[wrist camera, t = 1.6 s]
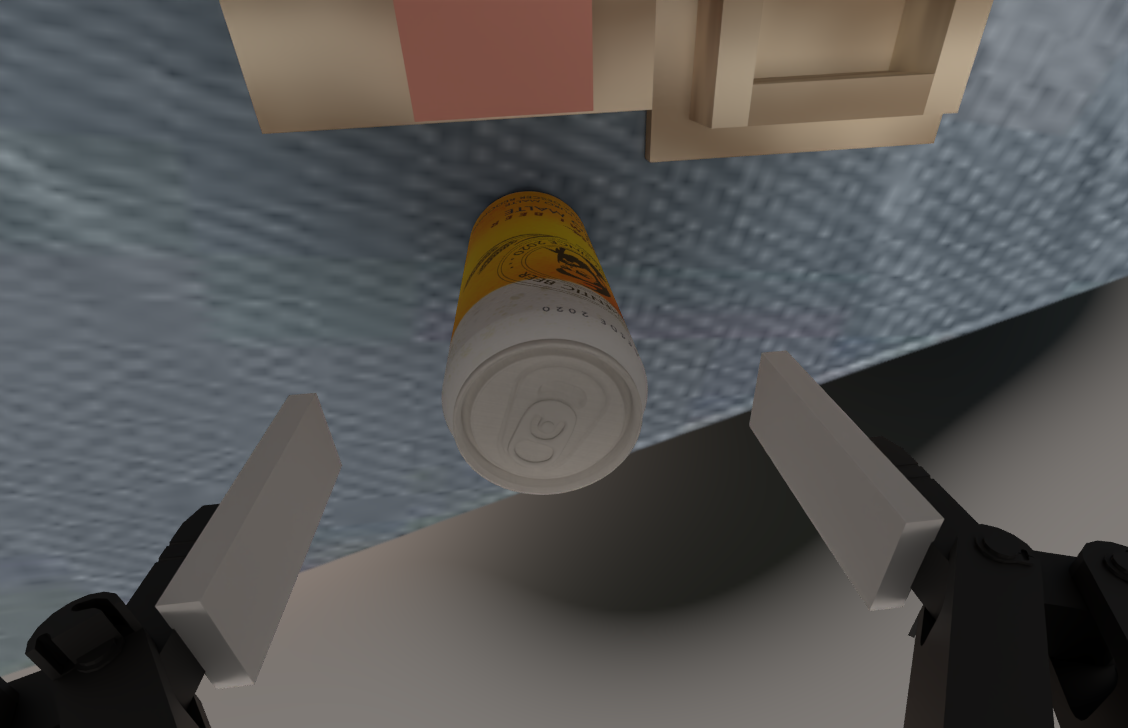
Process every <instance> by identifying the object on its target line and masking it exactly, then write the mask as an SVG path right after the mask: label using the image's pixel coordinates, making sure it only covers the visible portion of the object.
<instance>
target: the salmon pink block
mask: <svg viewBox="0 0 1128 728" xmlns="http://www.w3.org/2000/svg"><path fill="white" fill-rule="evenodd" d="M393 4H394V10H395V15H396V21H397V26H398V32H399V37H400V43H401V48H402V54H403V59H404V65H405V71H406V76H407V82H408V87H409V93H410V98H411V104H412V109H413V115H414V120H415V122H422V121H438V120H454V119H470V118H486V117H503V116H519V115H535V114H551V113H567V112H583V111H593V43H592V0H393Z"/></svg>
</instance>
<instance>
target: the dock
mask: <svg viewBox="0 0 1128 728" xmlns="http://www.w3.org/2000/svg"><path fill="white" fill-rule="evenodd" d="M219 2H220V5H221V8H222V11H223V14H224V17H225V20H226V23H227V26H228V29H229V32H230V36H231V39H232V42H233V45H234V48H235V51H236V54H237V57H238V60H239V63H240V66H241V69H242V72H243V76H244V79H245V82H246V85H247V88H248V91H249V94H250V97H251V100H252V103H253V106H254V109H255V112H256V116H257V119H258V122H259V125H260V128H261V131H262V134H268V133H284V132H300V131H316V130H333V129H349V128H365V127H381V126H397V125H413V124H429V123H445V122H461V121H477V120H493V119H509V118H526V117H542V116H558V115H574V114H590V113H606V112H622V111H638V110H647V119H646V148H645V159H646V160H648V161H649V162H664V161H679V160H693V159H708V158H723V157H738V156H752V155H767V154H782V153H796V152H811V151H826V150H841V149H855V148H870V147H885V146H899V145H914V144H929V143H934V140H935V137H936V134H937V131H938V127H939V124H940V121H941V118H942V114H946V113H957V112H958V109H959V106H960V103H961V100H962V97H963V94H964V91H965V87H966V84H967V81H968V78H969V75H970V72H971V69H972V66H973V62H974V59H975V56H976V53H977V50H978V47H979V44H980V41H981V37H982V34H983V31H984V28H985V25H986V22H987V19H988V16H989V12H990V9H991V6H992V3H993V0H592V43H593V111H583V112H567V113H551V114H535V115H519V116H503V117H486V118H470V119H454V120H438V121H422V122H415V120H414V115H413V109H412V104H411V98H410V93H409V87H408V82H407V76H406V71H405V65H404V59H403V54H402V48H401V43H400V37H399V32H398V26H397V21H396V15H395V10H394V4H393V0H219Z"/></svg>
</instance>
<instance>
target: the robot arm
mask: <svg viewBox="0 0 1128 728" xmlns="http://www.w3.org/2000/svg"><path fill="white" fill-rule="evenodd" d="M749 426H750V428H751V429H752V431H753V432H754V434H755V435H756V437H757V438H758V440H759V441H760V443H761V444H762V446H763V448H764V449H765V451H766V452H767V454H768V455H769V457H770V458H771V460H772V461H773V463H774V464H775V466H776V468H777V469H778V470H779V472H780V474H781V475H782V477H783V478H784V480H785V481H786V483H787V484H788V486H789V487H790V489H791V491H792V492H793V494H794V495H795V497H796V498H797V500H798V501H799V503H800V504H801V506H802V508H803V509H804V511H805V512H806V514H807V515H808V517H809V518H810V520H811V521H812V523H813V524H814V526H815V528H816V529H817V531H818V532H819V534H820V535H821V537H822V538H823V540H824V541H825V543H826V544H827V546H828V547H829V549H830V550H831V552H832V554H833V555H834V557H835V558H836V560H837V561H838V563H839V564H840V566H841V568H842V569H843V571H844V572H845V573H846V575H847V577H848V578H849V580H850V581H851V583H852V584H853V586H854V588H855V589H856V590H857V592H858V594H859V595H860V597H861V598H862V600H863V601H864V603H865V604H866V606H867V607H868V609H869V610H870V611H872V610H880V609H888V608H897V607H903V606H904V604H905V601H906V599H907V597H908V595H909V593H910V591H911V589H912V590H913V591H914V593H915V594H916V595H917V597H918V598H919V599H920V601H921V602H922V603H923V606H922V608H921V610H920V612H919V614H918V616H917V618H916V620H915V623H914V624H913V626H912V628H911V630H910V632H909V634H908V635H909V636H911V637H915V635H916V638H915V645H914V652H913V660H912V668H911V675H910V683H909V690H908V699H907V705H906V713H905V721H904V728H1054V718H1053V709H1054V711H1055V714H1056V717H1057V720H1058V722H1059V725H1060V728H1128V547H1126V546H1123V545H1119V544H1116V543H1113V542H1105V541H1094V542H1090V543H1086V544H1085V546H1084V547H1083V549H1082V550H1081V552H1080V553H1079V555H1078V556H1077V557H1073V556H1066V555H1059V554H1053V553H1046V552H1040V551H1034V550H1032V549H1031V548H1030V547H1029V546H1028V545H1027V544H1026V543H1025V542H1023V541H1022V540H1020V539H1019V538H1017V537H1016V536H1015V535H1012V534H1011V533H1009V532H1006V531H1004V530H1002V529H999V528H996V527H992V526H988V525H984V524H978V523H977V522H976V521H975V520H974V519H973V518H972V517H971V516H970V515H969V514H968V513H967V512H966V511H965V510H964V509H963V508H962V507H961V506H960V505H959V504H958V503H957V502H956V501H955V500H954V499H953V498H952V497H951V496H950V495H949V494H948V493H947V492H946V491H945V490H944V489H943V488H942V487H941V486H940V485H939V484H938V483H937V482H936V481H935V480H934V479H931V478H930V475H929V474H928V473H927V472H926V471H925V470H924V469H923V468H922V467H921V466H918V463H917V462H916V461H915V460H914V459H913V458H912V457H911V456H910V455H909V454H908V453H907V452H906V451H905V450H904V449H903V448H901V447H900V446H898V445H896V444H895V443H893V442H891V441H890V440H888V439H886V438H885V437H883V436H878V437H867V436H866V435H865V434H864V433H863V432H862V431H861V430H860V428H859V427H858V426H857V425H856V424H855V423H854V422H853V421H852V420H851V419H850V418H849V417H848V416H847V415H846V414H845V412H844V411H843V410H842V409H841V408H840V407H839V406H838V405H837V404H836V403H835V402H834V401H833V400H832V399H831V398H830V397H829V396H828V394H827V393H826V392H825V391H824V390H823V389H822V388H821V387H820V386H819V385H818V384H817V383H816V382H815V381H814V379H813V378H812V377H811V376H810V375H809V374H808V373H807V372H806V371H805V370H804V369H803V368H802V367H801V366H800V365H799V363H798V362H797V361H796V360H795V359H794V358H793V357H792V356H791V355H790V354H789V353H788V352H787V351H777V352H766V353H762V354H761V360H760V366H759V372H758V378H757V383H756V389H755V395H754V401H753V407H752V413H751V419H750V424H749ZM341 466H342V464H341V462H340V459H339V456H338V453H337V450H336V447H335V445H334V442H333V439H332V436H331V433H330V430H329V428H328V425H327V422H326V419H325V416H324V413H323V411H322V408H321V405H320V402H319V399H318V396H317V394H316V393H310V394H298V395H289V396H288V398H287V399H286V401H285V402H284V404H283V405H282V407H281V409H280V410H279V412H278V413H277V415H276V416H275V418H274V420H273V421H272V423H271V424H270V426H269V427H268V429H267V431H266V432H265V434H264V435H263V437H262V438H261V440H260V442H259V443H258V445H257V446H256V448H255V449H254V451H253V453H252V454H251V456H250V457H249V459H248V460H247V462H246V464H245V465H244V467H243V468H242V470H241V471H240V473H239V475H238V476H237V478H236V479H235V481H234V482H233V484H232V486H231V487H230V489H229V490H228V492H227V493H226V495H225V497H224V498H223V500H222V501H221V503H220V504H214V505H204V506H202V507H201V508H200V509H199V510H197V511H196V512H195V513H194V514H193V515H192V516H191V517H189V518H188V519H187V520H186V521H185V522H184V523H183V524H182V525H181V526H180V528H179V529H178V531H177V532H176V534H175V535H174V537H173V538H172V540H171V541H170V542H169V543H170V545H169V546H167V547H166V548H165V550H164V551H163V553H162V554H161V555H160V557H159V561H158V562H156V563H155V564H154V566H153V567H152V569H151V570H150V571H149V573H148V574H147V576H146V577H145V579H144V580H143V582H142V583H141V585H140V586H139V587H138V589H137V590H136V592H135V593H134V595H133V596H132V598H131V599H130V601H129V602H128V603H127V605H125V604H124V602H123V601H122V600H121V599H120V598H119V596H118V595H117V594H115V593H109V592H100V593H95V594H89V595H87V596H84V597H82V598H79V599H77V600H75V601H72V602H70V603H69V604H67V605H66V606H64V607H62V608H61V609H59V610H58V611H56V612H55V613H53V614H52V615H51V616H50V617H49V618H48V619H46V620H45V621H44V622H43V623H42V624H41V625H40V626H39V627H38V628H37V629H36V631H35V632H34V633H33V635H32V636H31V638H30V639H29V641H28V643H27V647H26V652H25V654H26V655H27V656H28V657H29V658H30V659H31V660H32V661H33V662H34V663H35V664H36V665H37V666H38V667H39V668H40V669H41V671H39V672H36V673H33V674H30V675H28V676H25V677H22V678H20V679H17V680H14V681H11V682H8V683H7V682H5V681H4V680H3V679H2V678H1V677H0V728H211V726H210V724H209V721H208V719H207V716H206V713H205V711H204V709H203V706H202V703H201V701H200V700H199V698H198V697H197V696H196V695H195V692H196V690H197V688H198V686H199V684H200V682H201V680H202V678H203V676H204V674H205V675H206V676H207V678H208V679H209V680H210V682H211V683H212V684H213V686H214V687H215V688H216V689H221V688H229V687H237V686H246V685H254V684H255V682H256V679H257V677H258V674H259V672H260V669H261V667H262V664H263V662H264V659H265V657H266V654H267V652H268V649H269V647H270V644H271V642H272V639H273V637H274V634H275V632H276V629H277V627H278V624H279V622H280V619H281V617H282V614H283V612H284V609H285V607H286V604H287V602H288V599H289V597H290V594H291V592H292V589H293V586H294V584H295V582H296V579H297V577H298V574H299V572H300V569H301V567H302V564H303V562H304V559H305V557H306V554H307V552H308V549H309V547H310V544H311V542H312V539H313V537H314V534H315V532H316V529H317V527H318V524H319V522H320V519H321V517H322V514H323V512H324V509H325V507H326V504H327V502H328V499H329V497H330V494H331V492H332V489H333V487H334V484H335V482H336V479H337V477H338V474H339V472H340V469H341Z"/></svg>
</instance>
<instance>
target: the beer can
mask: <svg viewBox="0 0 1128 728" xmlns="http://www.w3.org/2000/svg"><path fill="white" fill-rule="evenodd" d="M647 392H648V386H647V377H646V373H645V369H644V367H643V364H642V361H641V359H640V357H639V354H638V352H637V350H636V347H635V345H634V343H633V340H632V338H631V335H630V333H629V331H628V328H627V326H626V324H625V321H624V319H623V317H622V314H621V312H620V310H619V307H618V305H617V303H616V300H615V298H614V296H613V293H612V291H611V289H610V286H609V284H608V281H607V279H606V277H605V274H604V272H603V270H602V267H601V265H600V263H599V260H598V258H597V256H596V253H595V251H594V249H593V246H592V244H591V242H590V239H589V237H588V235H587V232H586V230H585V228H584V225H583V223H582V222H581V220H580V218H579V217H578V215H577V214H576V213H575V212H574V211H573V209H572V208H570V207H569V206H568V205H567V204H566V203H564V202H563V201H561V200H560V199H558V198H556V197H554V196H551V195H549V194H545V193H541V192H534V191H523V192H516V193H512V194H509V195H506V196H504V197H502V198H500V199H498V200H496V201H495V202H493V203H492V204H490V205H489V206H488V207H487V208H486V209H485V210H484V211H483V212H482V213H481V215H480V216H479V218H478V219H477V221H476V223H475V224H474V226H473V229H472V232H471V236H470V240H469V245H468V251H467V256H466V262H465V267H464V273H463V278H462V284H461V289H460V295H459V300H458V305H457V311H456V316H455V322H454V327H453V333H452V338H451V344H450V349H449V355H448V360H447V366H446V371H445V376H444V382H443V388H442V408H443V413H444V417H445V420H446V423H447V426H448V428H449V429H450V431H451V433H452V435H453V436H454V438H455V441H456V444H457V447H458V449H459V451H460V453H461V455H462V456H463V458H464V459H465V460H466V462H467V463H468V464H469V465H470V466H471V467H472V469H473V470H475V471H476V472H477V473H478V474H479V475H481V476H482V477H484V478H485V479H487V480H488V481H490V482H492V483H494V484H496V485H498V486H500V487H503V488H505V489H509V490H512V491H516V492H521V493H527V494H541V495H546V494H557V493H564V492H569V491H573V490H576V489H580V488H583V487H585V486H588V485H590V484H592V483H594V482H596V481H598V480H600V479H602V478H603V477H605V476H606V475H608V474H609V473H611V472H612V471H613V470H614V469H616V468H617V467H618V466H619V465H620V464H621V463H622V462H623V461H624V460H625V458H626V457H627V456H628V455H629V453H630V452H631V450H632V449H633V447H634V445H635V443H636V441H637V439H638V437H639V434H640V431H641V426H642V416H643V413H644V410H645V407H646V402H647Z"/></svg>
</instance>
